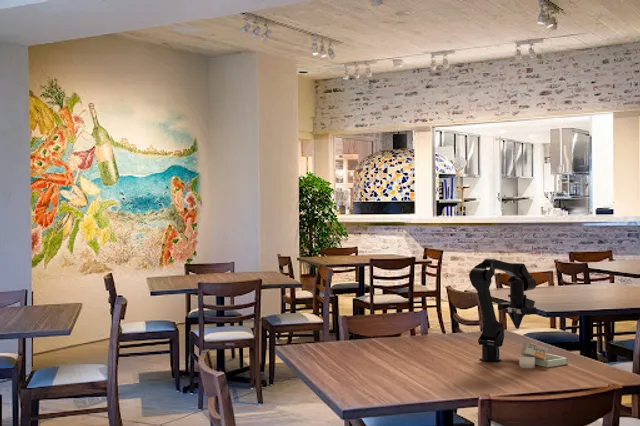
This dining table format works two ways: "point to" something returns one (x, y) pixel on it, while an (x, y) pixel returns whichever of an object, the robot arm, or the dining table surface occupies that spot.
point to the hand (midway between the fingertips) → (517, 328)
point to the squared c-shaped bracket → (551, 361)
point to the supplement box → (534, 350)
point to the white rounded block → (526, 361)
